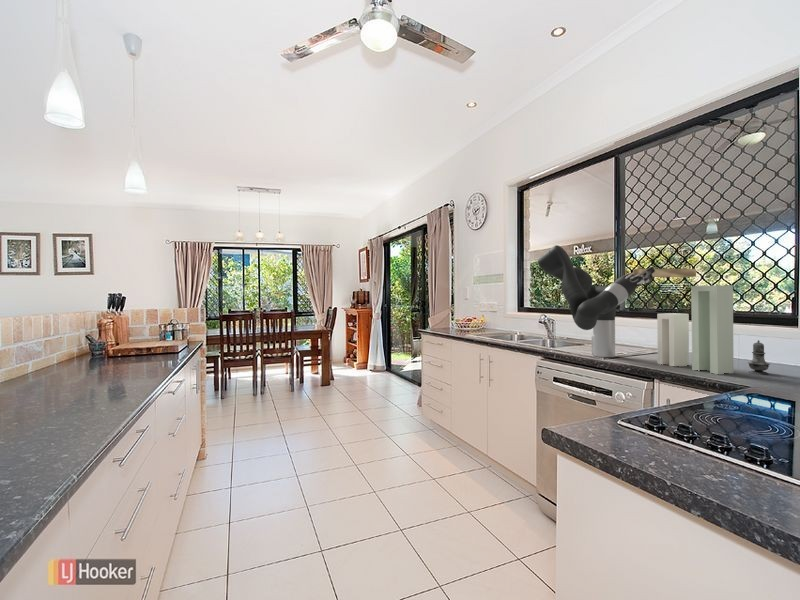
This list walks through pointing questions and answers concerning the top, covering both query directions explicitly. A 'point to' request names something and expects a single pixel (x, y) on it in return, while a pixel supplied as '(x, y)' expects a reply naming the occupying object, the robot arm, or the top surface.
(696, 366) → the sage stand
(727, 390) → the top surface
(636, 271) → the oak slat
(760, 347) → the salt shaker
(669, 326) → the cream shelf
